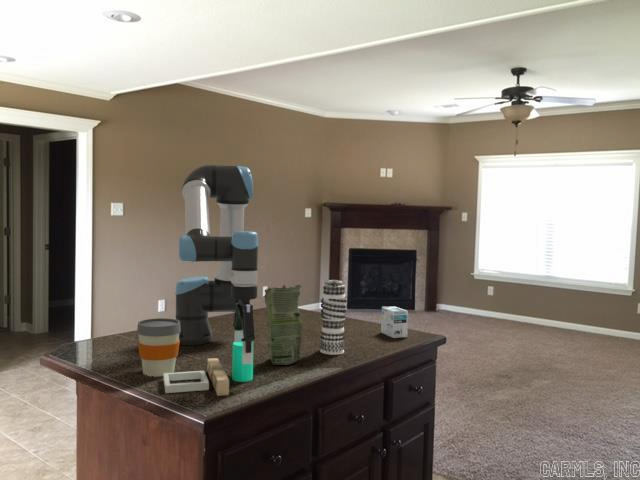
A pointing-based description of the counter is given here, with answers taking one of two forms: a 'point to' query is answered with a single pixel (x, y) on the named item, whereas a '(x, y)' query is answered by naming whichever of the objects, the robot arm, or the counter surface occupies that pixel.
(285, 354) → the pouch
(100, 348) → the counter surface
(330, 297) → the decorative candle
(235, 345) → the candle
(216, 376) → the edge strip
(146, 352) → the reusable coffee cup
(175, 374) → the frame
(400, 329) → the light bulb box
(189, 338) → the robot arm
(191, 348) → the counter surface
